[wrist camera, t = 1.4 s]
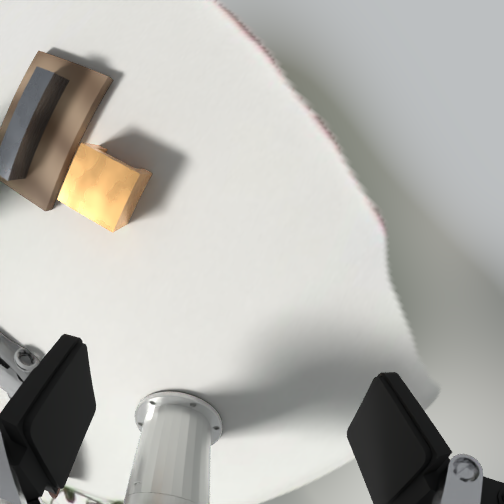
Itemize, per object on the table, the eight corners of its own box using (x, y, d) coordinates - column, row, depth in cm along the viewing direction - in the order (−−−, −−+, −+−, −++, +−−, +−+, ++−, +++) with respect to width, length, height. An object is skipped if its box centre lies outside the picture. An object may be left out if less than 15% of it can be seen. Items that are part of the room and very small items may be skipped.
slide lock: (127, 224, 30) (112, 232, 26) (77, 195, 29) (57, 199, 25) (152, 173, 29) (140, 173, 25) (99, 145, 28) (81, 142, 24)
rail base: (52, 209, 29) (45, 211, 28) (-7, 169, 27) (-14, 170, 25) (113, 79, 26) (108, 76, 25) (44, 53, 24) (38, 50, 22)
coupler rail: (25, 178, 26) (7, 180, 23) (10, 168, 26) (-8, 170, 22) (69, 80, 24) (54, 72, 21) (52, 73, 24) (36, 66, 20)
